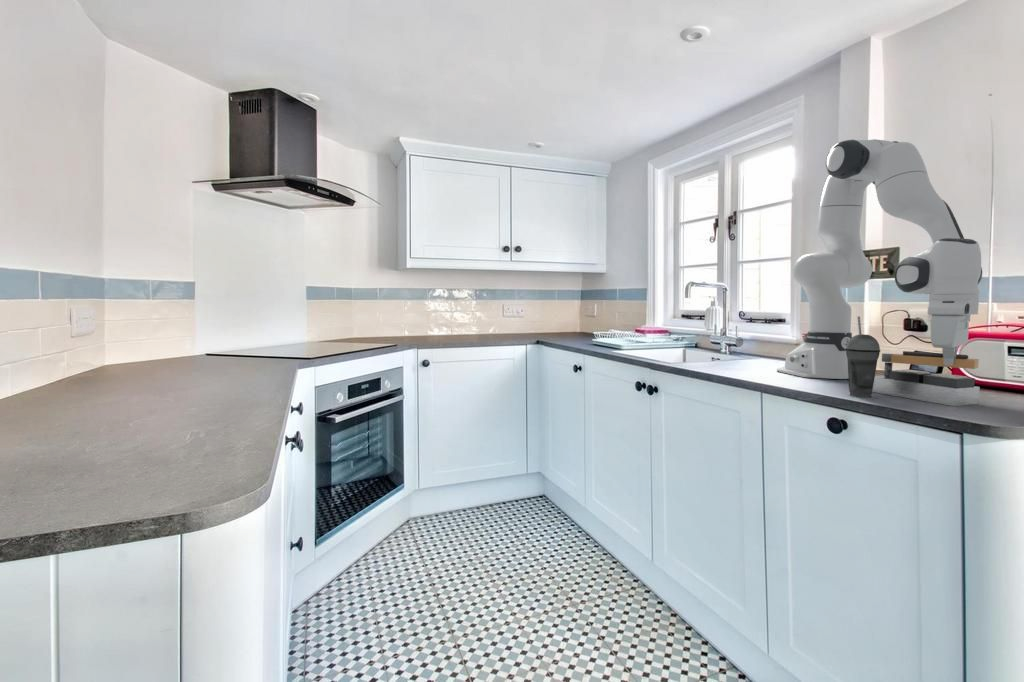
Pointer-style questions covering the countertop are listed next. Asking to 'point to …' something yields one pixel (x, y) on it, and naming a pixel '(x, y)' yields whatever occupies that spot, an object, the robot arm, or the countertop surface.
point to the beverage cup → (862, 363)
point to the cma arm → (929, 359)
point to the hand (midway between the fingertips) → (949, 365)
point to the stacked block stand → (927, 386)
